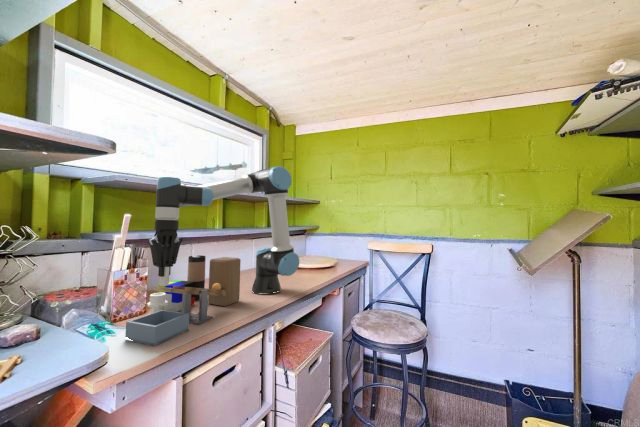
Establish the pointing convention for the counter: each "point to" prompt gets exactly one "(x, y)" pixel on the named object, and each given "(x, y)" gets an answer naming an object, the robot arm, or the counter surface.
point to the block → (225, 280)
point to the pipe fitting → (157, 301)
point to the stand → (203, 308)
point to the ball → (216, 286)
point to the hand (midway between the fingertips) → (163, 285)
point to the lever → (192, 290)
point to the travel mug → (197, 271)
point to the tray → (157, 327)
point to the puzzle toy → (176, 295)
